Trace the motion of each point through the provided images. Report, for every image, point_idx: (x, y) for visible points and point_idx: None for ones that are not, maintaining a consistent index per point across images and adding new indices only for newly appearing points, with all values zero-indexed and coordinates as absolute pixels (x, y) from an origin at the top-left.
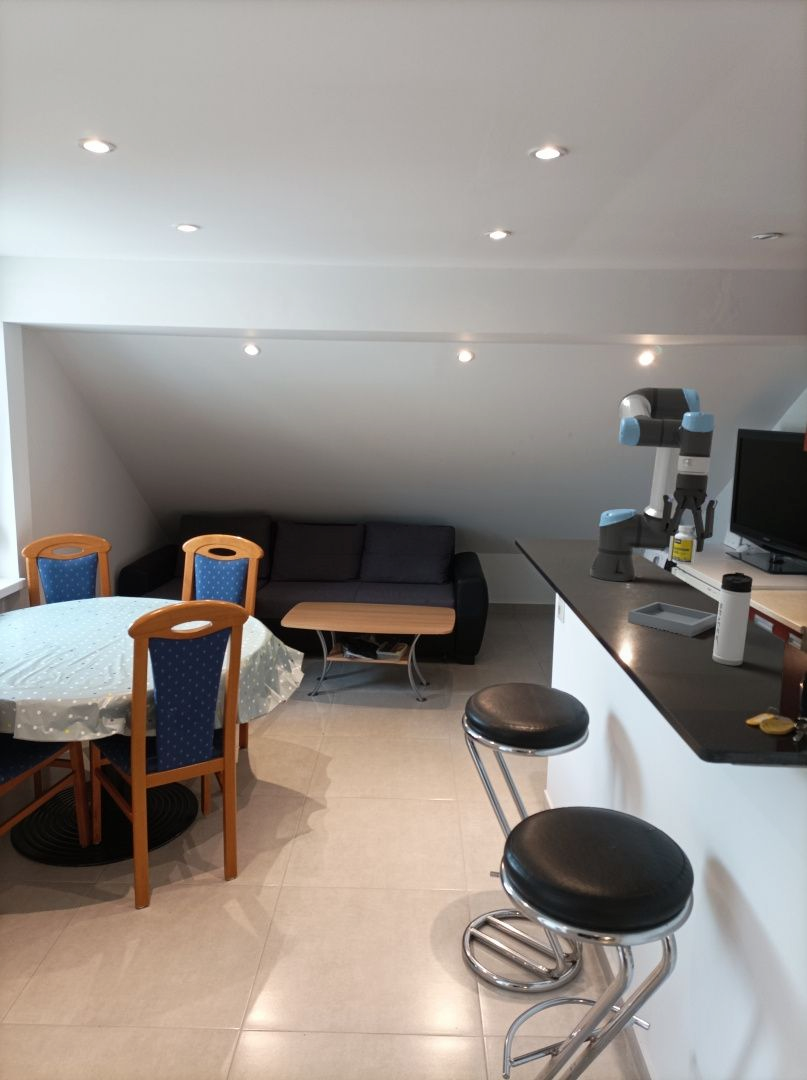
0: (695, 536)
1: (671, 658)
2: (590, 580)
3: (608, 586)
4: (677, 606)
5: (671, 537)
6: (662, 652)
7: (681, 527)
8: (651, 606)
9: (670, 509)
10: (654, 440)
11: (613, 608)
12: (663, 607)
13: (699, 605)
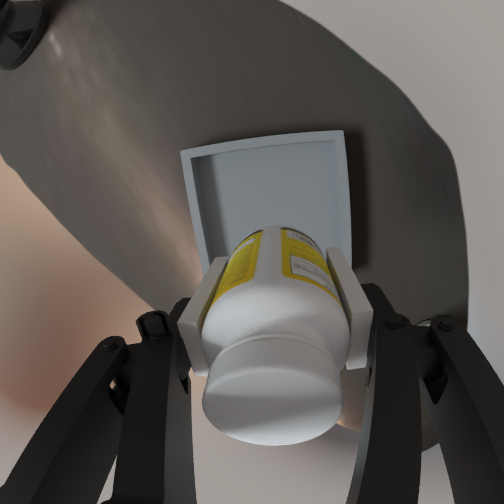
0: (346, 347)
1: (363, 381)
2: (14, 88)
3: (40, 83)
4: (237, 144)
5: (203, 371)
6: (345, 373)
7: (259, 438)
8: (197, 199)
9: (66, 480)
10: None
11: (129, 214)
12: (206, 155)
13: (210, 8)
